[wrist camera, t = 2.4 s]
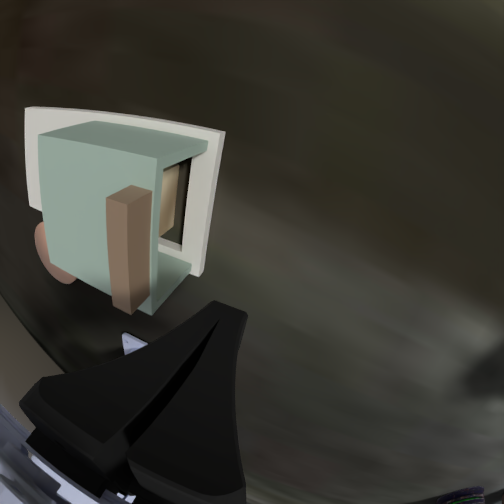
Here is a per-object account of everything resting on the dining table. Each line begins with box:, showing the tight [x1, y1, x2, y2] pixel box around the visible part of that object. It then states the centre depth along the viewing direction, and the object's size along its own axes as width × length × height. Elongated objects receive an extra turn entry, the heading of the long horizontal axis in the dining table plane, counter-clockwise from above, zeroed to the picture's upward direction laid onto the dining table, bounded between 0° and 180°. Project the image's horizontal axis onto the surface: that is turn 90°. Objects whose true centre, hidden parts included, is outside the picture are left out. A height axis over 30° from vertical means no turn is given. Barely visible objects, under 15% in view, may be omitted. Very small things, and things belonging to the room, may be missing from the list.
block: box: [159, 164, 179, 237], centre depth 18 cm, size 4×4×5 cm
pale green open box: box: [38, 121, 208, 316], centre depth 16 cm, size 9×9×7 cm
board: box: [25, 107, 226, 277], centre depth 21 cm, size 10×20×1 cm, turn 78°
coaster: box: [35, 221, 77, 284], centre depth 27 cm, size 7×7×1 cm
